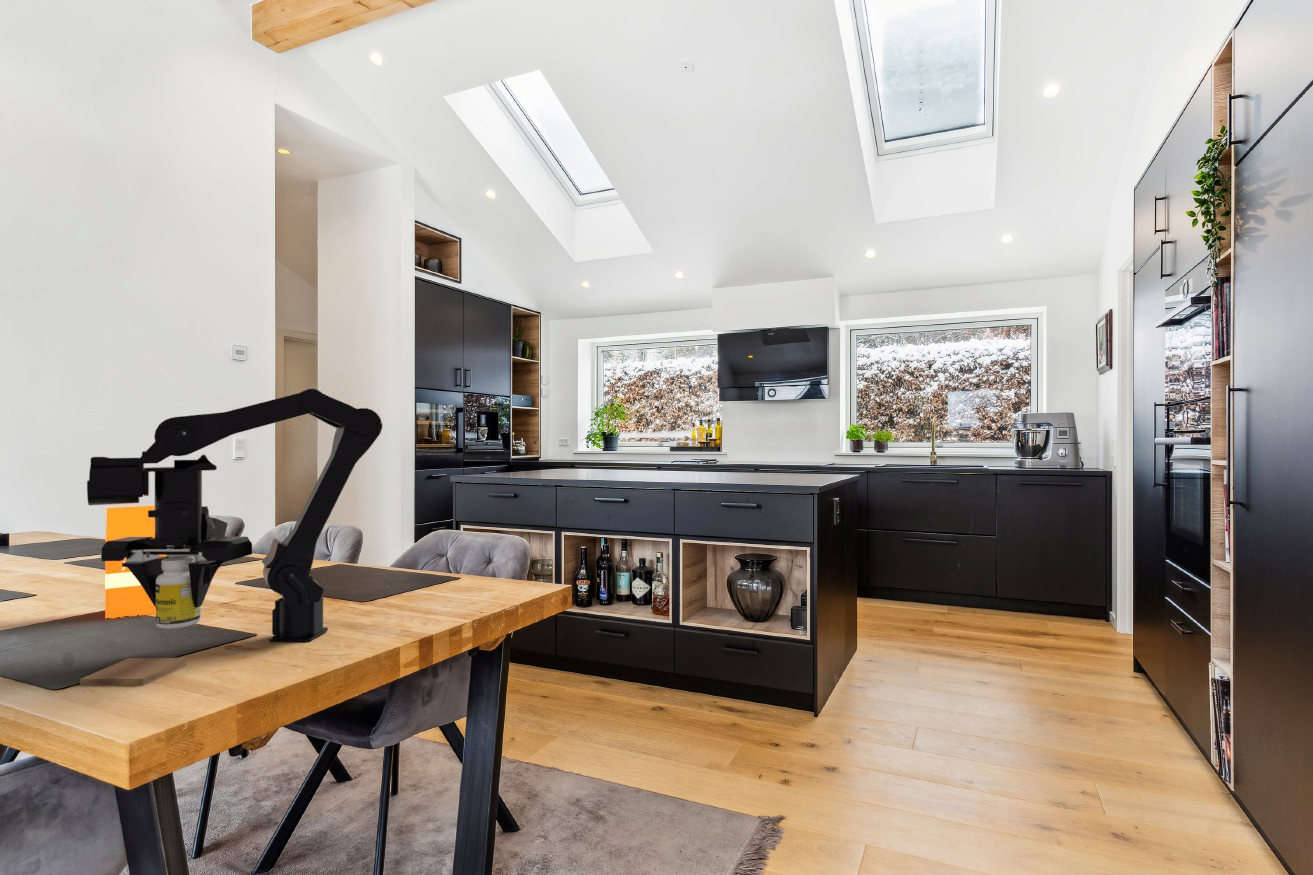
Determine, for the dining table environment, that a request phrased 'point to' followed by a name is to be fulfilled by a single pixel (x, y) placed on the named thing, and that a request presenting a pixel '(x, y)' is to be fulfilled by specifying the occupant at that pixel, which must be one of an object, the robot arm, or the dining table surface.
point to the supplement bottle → (175, 595)
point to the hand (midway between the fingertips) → (178, 606)
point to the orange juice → (119, 581)
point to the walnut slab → (134, 671)
